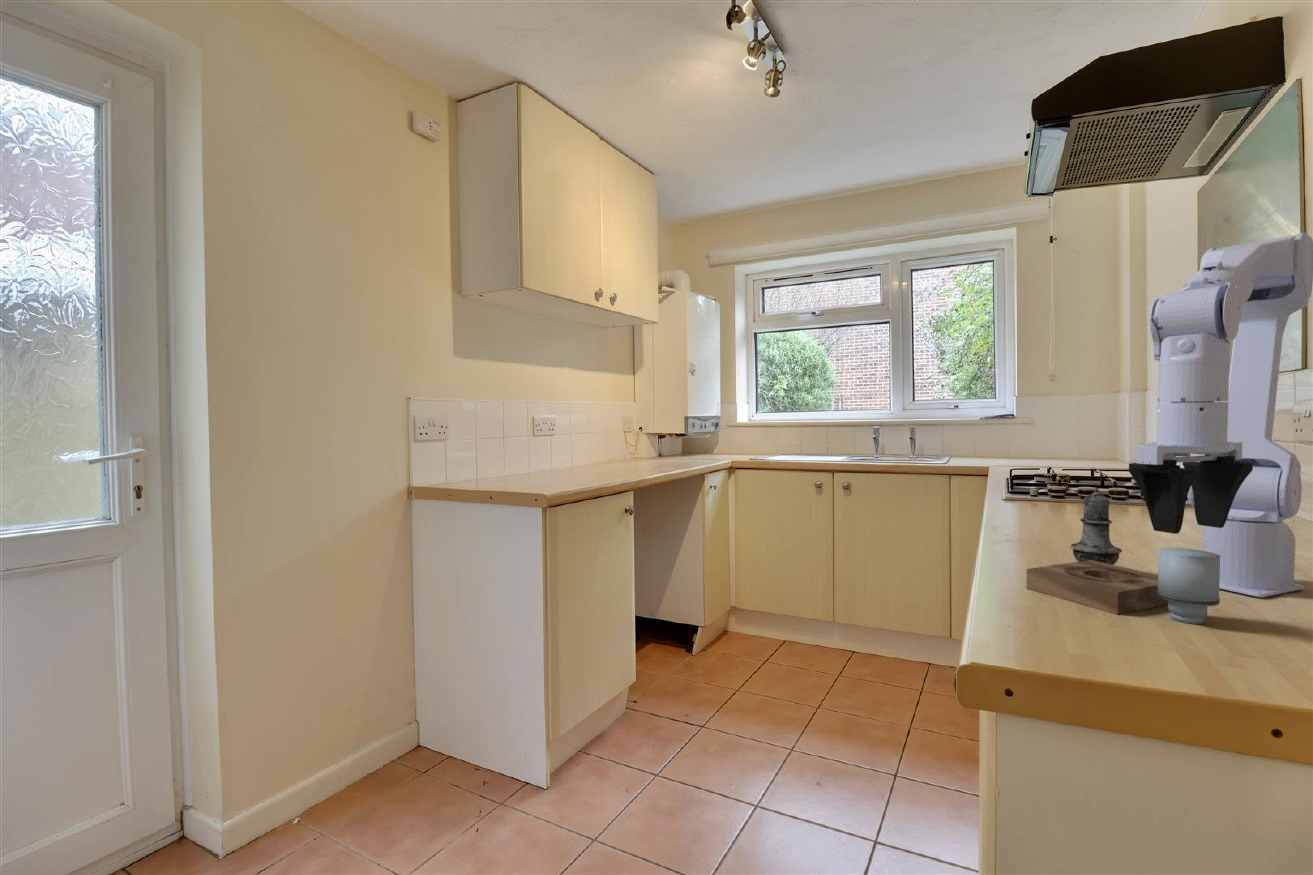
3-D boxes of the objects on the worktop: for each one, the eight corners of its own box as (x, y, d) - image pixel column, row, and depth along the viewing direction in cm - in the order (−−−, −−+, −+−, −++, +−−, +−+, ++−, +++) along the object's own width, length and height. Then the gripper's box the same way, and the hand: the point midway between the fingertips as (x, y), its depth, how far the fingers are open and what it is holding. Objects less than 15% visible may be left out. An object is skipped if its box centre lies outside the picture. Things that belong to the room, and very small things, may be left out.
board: (1090, 578, 83) (1090, 559, 83) (1184, 601, 73) (1185, 580, 73) (1026, 588, 79) (1026, 568, 79) (1117, 614, 69) (1117, 592, 68)
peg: (1175, 609, 70) (1176, 546, 70) (1230, 624, 65) (1232, 555, 65) (1145, 615, 68) (1147, 550, 68) (1200, 630, 63) (1202, 560, 63)
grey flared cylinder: (1131, 579, 82) (1132, 490, 82) (1082, 578, 83) (1083, 489, 83) (1107, 568, 88) (1108, 485, 88) (1061, 567, 89) (1063, 484, 89)
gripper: (1190, 402, 72) (1187, 518, 73) (1107, 403, 67) (1104, 527, 67) (1268, 401, 65) (1264, 528, 66) (1182, 402, 60) (1178, 540, 61)
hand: (1188, 529), depth 66 cm, fingers open, 7 cm apart
